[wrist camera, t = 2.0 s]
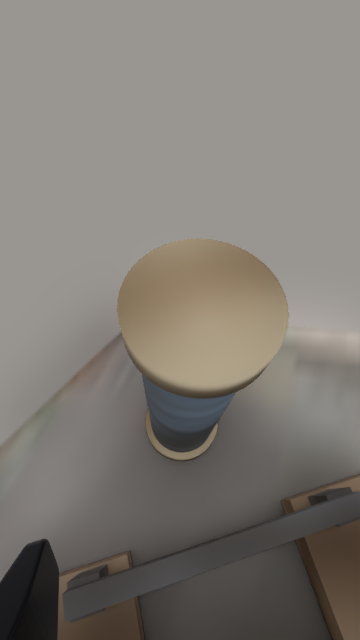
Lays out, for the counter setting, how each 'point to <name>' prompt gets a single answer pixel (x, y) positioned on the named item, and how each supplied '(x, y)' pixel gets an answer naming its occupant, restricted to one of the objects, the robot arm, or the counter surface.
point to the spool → (198, 335)
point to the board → (298, 524)
